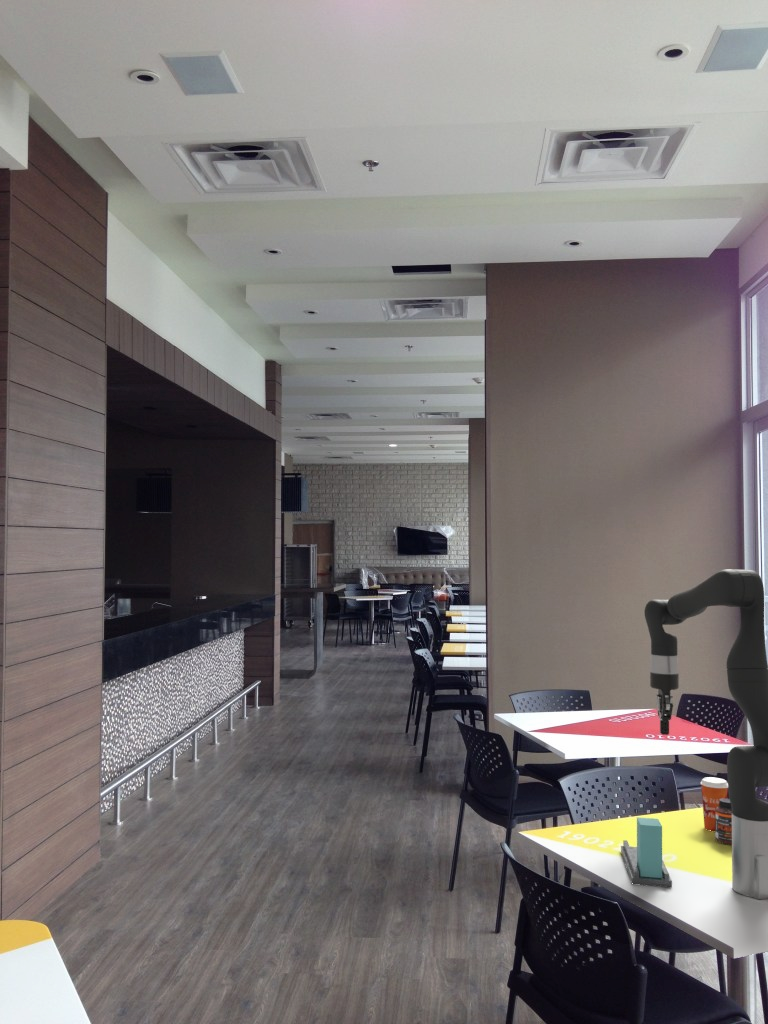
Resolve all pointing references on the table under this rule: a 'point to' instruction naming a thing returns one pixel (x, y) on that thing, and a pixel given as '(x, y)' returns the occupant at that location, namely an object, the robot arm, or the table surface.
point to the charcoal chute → (631, 864)
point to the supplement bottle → (723, 822)
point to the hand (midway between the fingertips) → (664, 734)
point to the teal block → (649, 847)
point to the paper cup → (712, 798)
